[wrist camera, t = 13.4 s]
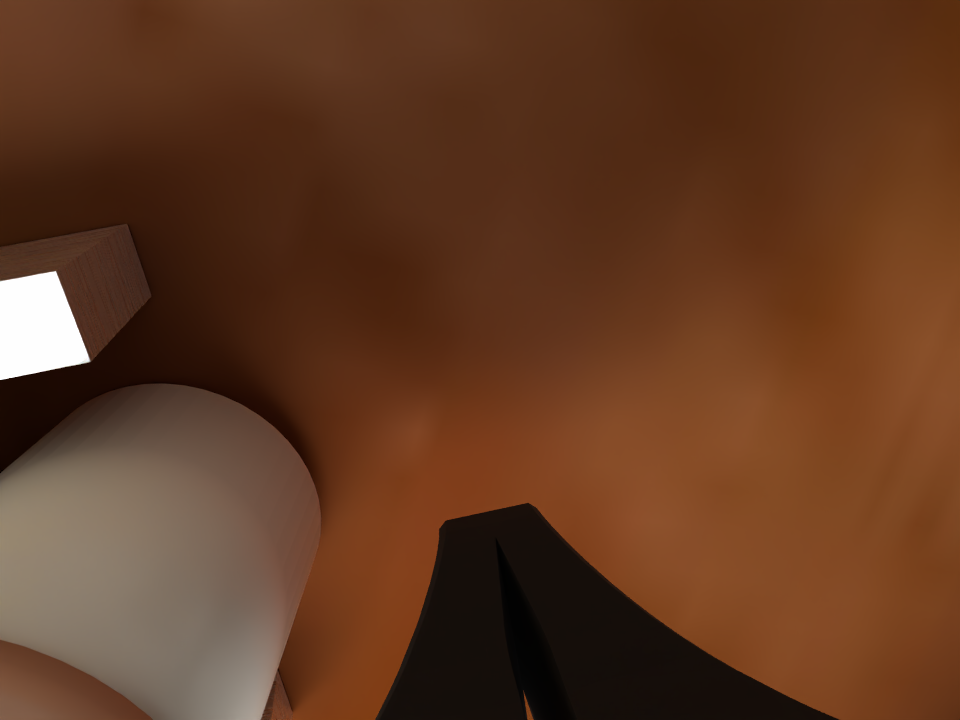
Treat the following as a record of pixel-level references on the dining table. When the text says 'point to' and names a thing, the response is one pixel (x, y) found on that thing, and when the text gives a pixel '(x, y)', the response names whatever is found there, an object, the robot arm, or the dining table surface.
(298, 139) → the dining table surface
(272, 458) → the cream jar
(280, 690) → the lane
